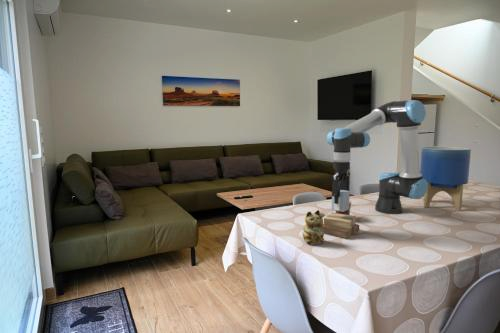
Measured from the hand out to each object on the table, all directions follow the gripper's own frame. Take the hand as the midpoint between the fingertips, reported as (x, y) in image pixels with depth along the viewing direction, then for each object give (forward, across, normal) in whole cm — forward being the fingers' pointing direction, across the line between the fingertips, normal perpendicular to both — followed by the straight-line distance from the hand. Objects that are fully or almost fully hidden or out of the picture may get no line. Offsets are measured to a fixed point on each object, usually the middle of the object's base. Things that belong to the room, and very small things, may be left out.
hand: (340, 208), depth 158 cm
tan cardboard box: (+12, 0, 0) cm, 12 cm away
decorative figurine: (+12, +20, -3) cm, 24 cm away
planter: (+12, -88, +25) cm, 92 cm away
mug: (+12, -21, -8) cm, 25 cm away
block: (0, 0, 0) cm, 0 cm away
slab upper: (+8, 0, 0) cm, 8 cm away
